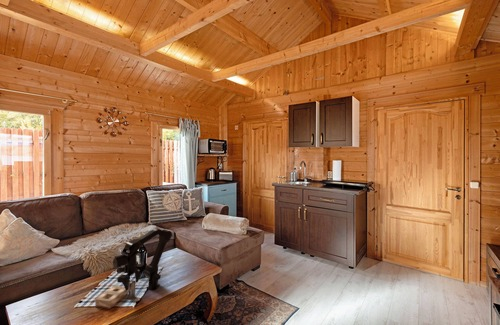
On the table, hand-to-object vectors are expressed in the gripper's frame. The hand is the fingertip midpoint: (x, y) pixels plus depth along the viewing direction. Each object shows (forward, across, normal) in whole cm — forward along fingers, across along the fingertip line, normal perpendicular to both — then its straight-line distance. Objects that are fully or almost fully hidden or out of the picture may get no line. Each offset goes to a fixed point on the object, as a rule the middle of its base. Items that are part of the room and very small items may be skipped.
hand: (131, 286), depth 153 cm
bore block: (+7, +5, -10) cm, 14 cm away
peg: (+7, 0, 0) cm, 7 cm away
